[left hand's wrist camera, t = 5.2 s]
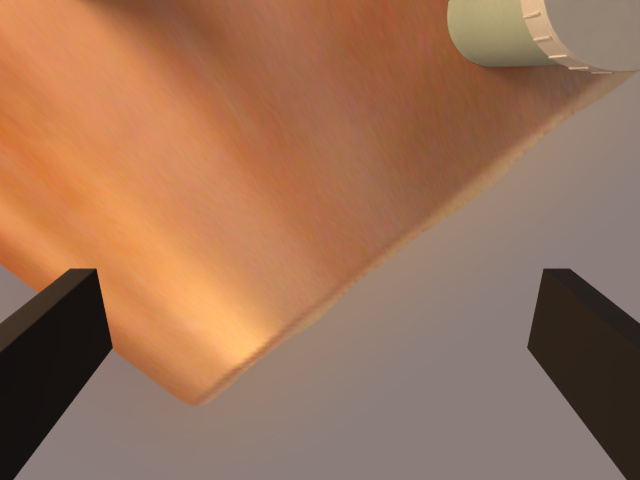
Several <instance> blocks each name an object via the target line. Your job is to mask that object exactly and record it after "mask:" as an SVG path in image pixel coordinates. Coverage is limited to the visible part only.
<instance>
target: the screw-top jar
mask: <svg viewBox="0 0 640 480" xmlns="http://www.w3.org/2000/svg"><path fill="white" fill-rule="evenodd" d="M447 21H448V29H449V33H450V36H451V39H452V41H453V43H454V45H455V47H456V48H457V50H458V51H459V52H460V53H461V54H462V55H463V56H464V57H465V58H466V59H468V60H469V61H471V62H473V63H475V64H478V65H481V66H485V67H511V66H542V65H561V64H559V63H558V62H556V61H555V60H553V59H549V58H548V57H549V56H548V55H547V54H546V53H544V52H543V51H542V49H541V48H540V47H539V46H538V45H537V44H536V42H535V41H533V37H532V36H531V34H530V32H529V30H528V27H527V25H526V23H525V19H523V12H522V7H521V0H449V4H448V12H447Z"/></svg>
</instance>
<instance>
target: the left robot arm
mask: <svg viewBox="0 0 640 480" xmlns="http://www.w3.org/2000/svg"><path fill="white" fill-rule="evenodd" d="M112 348H113V347H112V342H111V337H110V332H109V327H108V322H107V318H106V313H105V308H104V303H103V298H102V293H101V289H100V284H99V279H98V274H97V269H69V270H68V271H67V272H65V273H64V274H63V275H62V276H60V277H59V278H58V279H56V280H55V281H54V282H53V283H51V284H50V285H49V286H48V287H46V288H45V289H44V290H42V291H41V292H40V293H39V294H37V295H36V296H35V297H34V298H32V299H31V300H30V301H29V302H27V303H26V304H25V305H23V306H22V307H21V308H20V309H18V310H17V311H16V312H14V313H13V314H12V315H11V316H9V317H8V318H7V319H6V320H4V321H3V322H2V323H0V480H13V479H14V478H15V477H16V475H17V474H18V473H19V471H20V470H21V469H22V467H23V466H24V465H25V463H26V462H27V461H28V460H29V458H30V457H31V456H32V454H33V453H34V452H35V450H36V449H37V448H38V446H39V445H40V444H41V442H42V441H43V440H44V438H45V437H46V436H47V434H48V433H49V432H50V430H51V429H52V428H53V426H54V425H55V424H56V422H57V421H58V420H59V418H60V417H61V416H62V414H63V413H64V412H65V410H66V409H67V408H68V406H69V405H70V404H71V402H72V401H73V400H74V398H75V397H76V396H77V395H78V393H79V392H80V391H81V389H82V388H83V387H84V385H85V384H86V383H87V381H88V380H89V379H90V377H91V376H92V375H93V373H94V372H95V371H96V369H97V368H98V367H99V365H100V364H101V363H102V361H103V360H104V359H105V357H106V356H107V355H108V353H109V352H110V351H111V349H112ZM527 348H528V349H529V351H530V352H531V353H532V355H533V356H534V357H535V359H536V360H537V361H538V363H539V364H540V365H541V367H542V368H543V369H544V371H545V372H546V373H547V375H548V376H549V377H550V379H551V380H552V381H553V383H554V384H555V385H556V387H557V388H558V389H559V391H560V392H561V393H562V395H563V396H564V397H565V398H566V400H567V401H568V402H569V404H570V405H571V406H572V408H573V409H574V410H575V412H576V413H577V414H578V416H579V417H580V418H581V420H582V421H583V422H584V424H585V425H586V426H587V428H588V429H589V430H590V432H591V433H592V434H593V436H594V437H595V438H596V440H597V441H598V442H599V444H600V445H601V446H602V448H603V449H604V450H605V452H606V453H607V454H608V456H609V457H610V458H611V460H612V461H613V462H614V464H615V465H616V466H617V467H618V469H619V470H620V471H621V473H622V474H623V475H624V477H625V478H626V479H627V480H640V323H638V322H637V321H636V320H634V319H633V318H632V317H631V316H629V315H628V314H627V313H626V312H624V311H623V310H622V309H620V308H619V307H618V306H617V305H615V304H614V303H613V302H612V301H610V300H609V299H608V298H606V297H605V296H604V295H603V294H601V293H600V292H599V291H598V290H596V289H595V288H594V287H592V286H591V285H590V284H589V283H587V282H586V281H585V280H584V279H582V278H581V277H580V276H578V275H577V274H576V273H575V272H573V271H572V270H571V269H543V274H542V279H541V284H540V289H539V293H538V298H537V303H536V308H535V313H534V318H533V322H532V327H531V332H530V337H529V342H528V347H527Z"/></svg>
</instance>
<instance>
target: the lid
mask: <svg viewBox="0 0 640 480" xmlns="http://www.w3.org/2000/svg"><path fill="white" fill-rule="evenodd" d="M521 7H522V12H523V19H525V23H526V25H527V27H528V30H529V32H530V34H531V36H532V37H533V41H535V42H536V44H537V45H538V46H539V47H540V48H541V49H542V51H543V52H544V53H546V54H547V55H548V56H549V57H548V58H549V59H553V60H555V61H556V62H558V63H559V64H561V65H564V66H566V67H569V68H568V69H570V70H580V71H588V72H591V73H592V74H614V72H626V71H639V70H640V0H521Z"/></svg>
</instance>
